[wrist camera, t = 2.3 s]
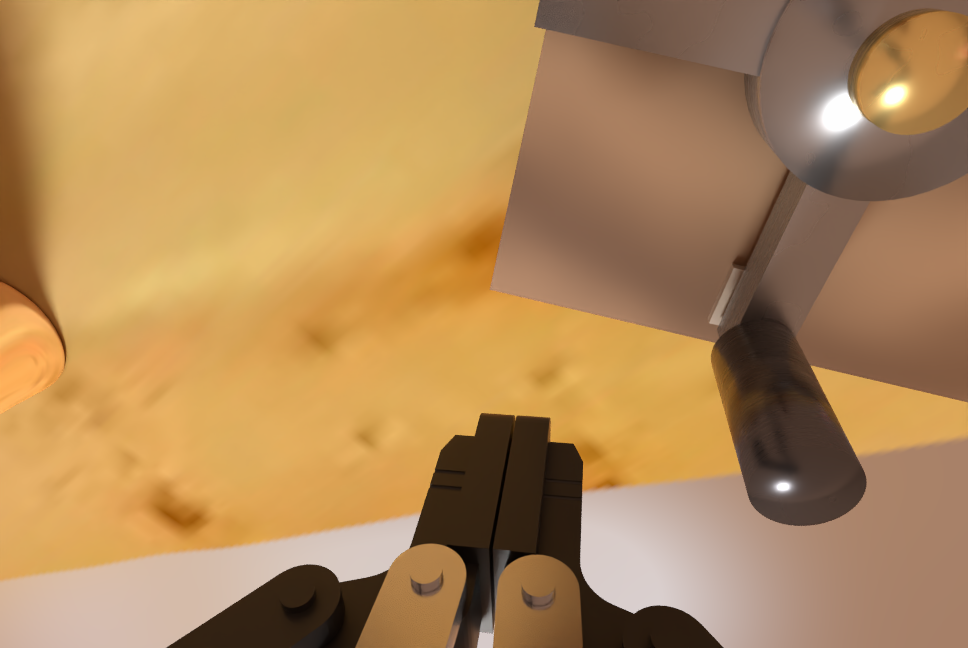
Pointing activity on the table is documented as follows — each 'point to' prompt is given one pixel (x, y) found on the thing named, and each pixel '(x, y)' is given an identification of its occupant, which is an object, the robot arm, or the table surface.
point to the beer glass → (26, 349)
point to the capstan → (807, 190)
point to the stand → (713, 220)
